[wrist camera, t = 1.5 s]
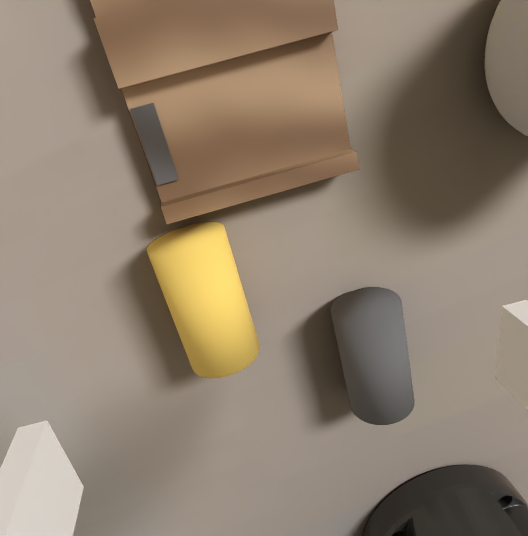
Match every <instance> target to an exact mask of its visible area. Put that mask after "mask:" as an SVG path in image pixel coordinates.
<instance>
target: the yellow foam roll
mask: <svg viewBox="0 0 528 536" xmlns="http://www.w3.org/2000/svg"><path fill="white" fill-rule="evenodd" d="M147 253H148V256H149V258H150V261H151V263H152V266H153V268H154V271H155V274H156V276H157V279H158V281H159V284H160V287H161V289H162V292H163V294H164V297H165V300H166V302H167V305H168V307H169V310H170V312H171V315H172V318H173V320H174V323H175V325H176V328H177V331H178V333H179V336H180V338H181V341H182V343H183V346H184V349H185V351H186V354H187V356H188V359H189V362H190V364H191V367H192V369H193V371H194V372H195V373H196V374H197V375H199V376H202V377H205V378H220V377H225V376H229V375H232V374H234V373H237V372H239V371H241V370H242V369H244V368H245V367H247V366H248V365H249V364H251V363H252V362H253V361H254V359H255V358H256V357H257V355H258V353H259V350H260V345H259V341H258V338H257V335H256V331H255V328H254V325H253V321H252V318H251V315H250V311H249V308H248V304H247V301H246V298H245V294H244V291H243V288H242V284H241V281H240V278H239V274H238V271H237V268H236V264H235V261H234V258H233V254H232V251H231V248H230V244H229V241H228V238H227V234H226V231H225V228H224V225H223V224H221V223H218V222H202V223H196V224H193V225H189V226H186V227H183V228H179V229H176V230H173V231H170V232H168V233H166V234H164V235H162V236H160V237H159V238H157V239H155V240H154V241H153V242H152V243H150V245H149V246H148V247H147Z"/></svg>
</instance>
